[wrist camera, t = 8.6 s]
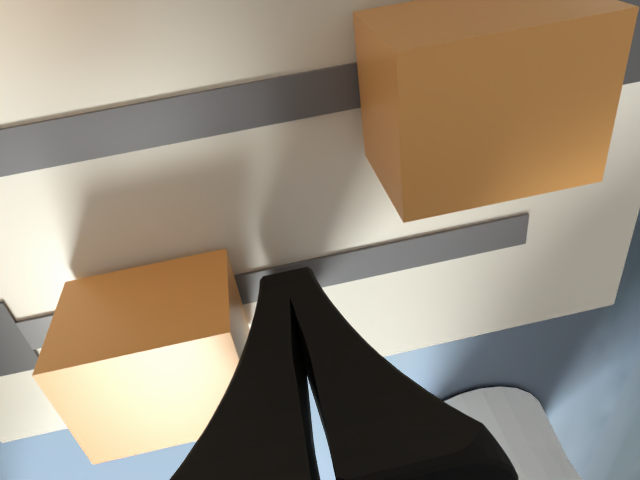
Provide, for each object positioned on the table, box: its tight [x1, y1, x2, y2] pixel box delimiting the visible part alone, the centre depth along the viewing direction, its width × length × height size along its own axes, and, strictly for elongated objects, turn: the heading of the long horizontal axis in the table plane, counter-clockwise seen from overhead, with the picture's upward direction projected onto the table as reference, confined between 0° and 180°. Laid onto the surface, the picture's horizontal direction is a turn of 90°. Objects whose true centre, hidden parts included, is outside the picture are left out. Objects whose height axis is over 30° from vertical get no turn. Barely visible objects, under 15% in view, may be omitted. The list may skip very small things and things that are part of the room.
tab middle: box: [353, 0, 639, 223], centre depth 10 cm, size 4×3×3 cm
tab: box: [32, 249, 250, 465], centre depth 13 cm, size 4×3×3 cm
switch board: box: [0, 0, 640, 443], centre depth 12 cm, size 20×18×2 cm
